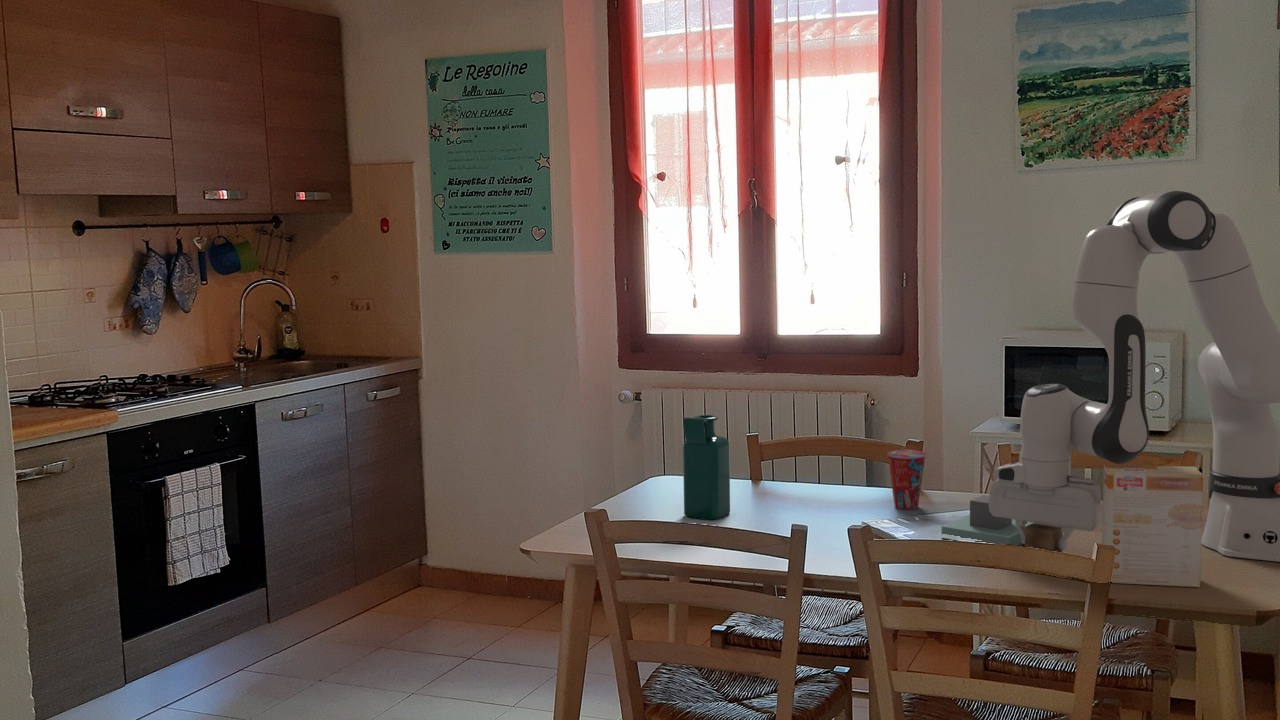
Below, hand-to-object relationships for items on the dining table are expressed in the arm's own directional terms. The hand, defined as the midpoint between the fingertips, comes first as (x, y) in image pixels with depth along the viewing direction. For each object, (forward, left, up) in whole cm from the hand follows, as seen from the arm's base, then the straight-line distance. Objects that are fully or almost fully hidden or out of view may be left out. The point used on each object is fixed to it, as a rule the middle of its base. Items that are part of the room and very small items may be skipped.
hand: (1043, 546), depth 214 cm
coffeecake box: (-20, +2, -2) cm, 20 cm away
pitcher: (+70, +12, -2) cm, 71 cm away
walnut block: (0, 0, -2) cm, 2 cm away
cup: (+40, -21, -2) cm, 45 cm away
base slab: (+14, -8, -2) cm, 16 cm away
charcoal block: (+14, -8, 0) cm, 16 cm away
